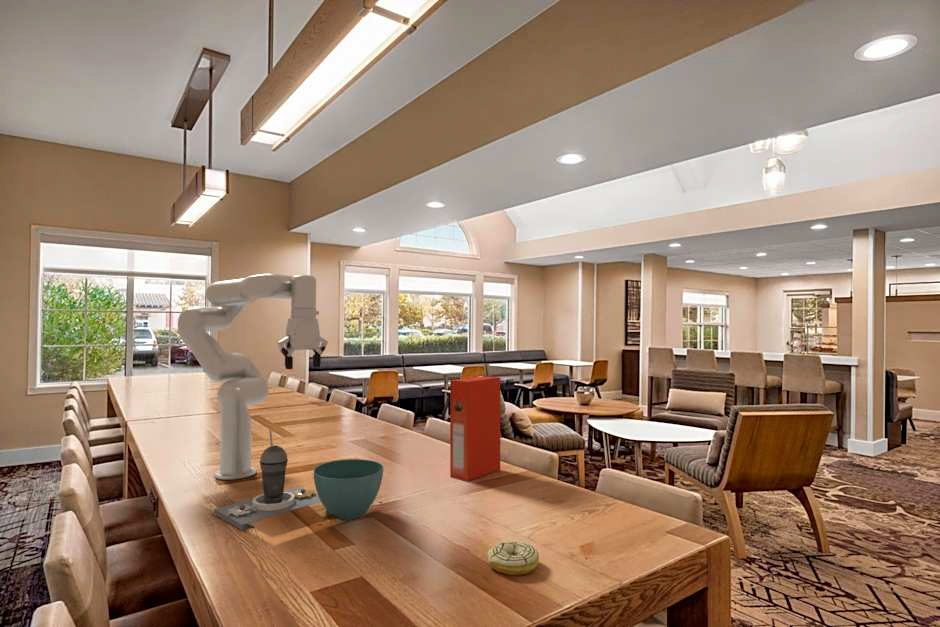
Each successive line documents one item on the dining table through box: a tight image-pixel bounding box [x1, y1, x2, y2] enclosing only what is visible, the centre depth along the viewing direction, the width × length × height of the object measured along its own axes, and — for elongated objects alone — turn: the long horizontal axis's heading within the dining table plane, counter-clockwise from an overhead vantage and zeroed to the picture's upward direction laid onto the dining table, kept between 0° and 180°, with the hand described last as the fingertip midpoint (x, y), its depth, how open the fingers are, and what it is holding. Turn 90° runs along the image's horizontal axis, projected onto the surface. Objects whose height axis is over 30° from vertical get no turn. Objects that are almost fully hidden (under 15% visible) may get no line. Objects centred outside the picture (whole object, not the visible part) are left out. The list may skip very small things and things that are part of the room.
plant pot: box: [313, 458, 384, 521], centre depth 139 cm, size 18×18×12 cm
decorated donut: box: [487, 541, 540, 576], centre depth 111 cm, size 10×11×4 cm
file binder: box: [449, 375, 501, 482], centre depth 177 cm, size 8×17×32 cm, turn 140°
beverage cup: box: [259, 429, 289, 504], centre depth 143 cm, size 7×7×20 cm
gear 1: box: [227, 505, 256, 518], centre depth 136 cm, size 7×7×2 cm
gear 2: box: [291, 488, 317, 500], centre depth 149 cm, size 7×7×2 cm
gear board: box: [213, 486, 322, 532], centre depth 142 cm, size 16×25×3 cm, turn 139°
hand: (303, 368), depth 166 cm, fingers open, 9 cm apart
